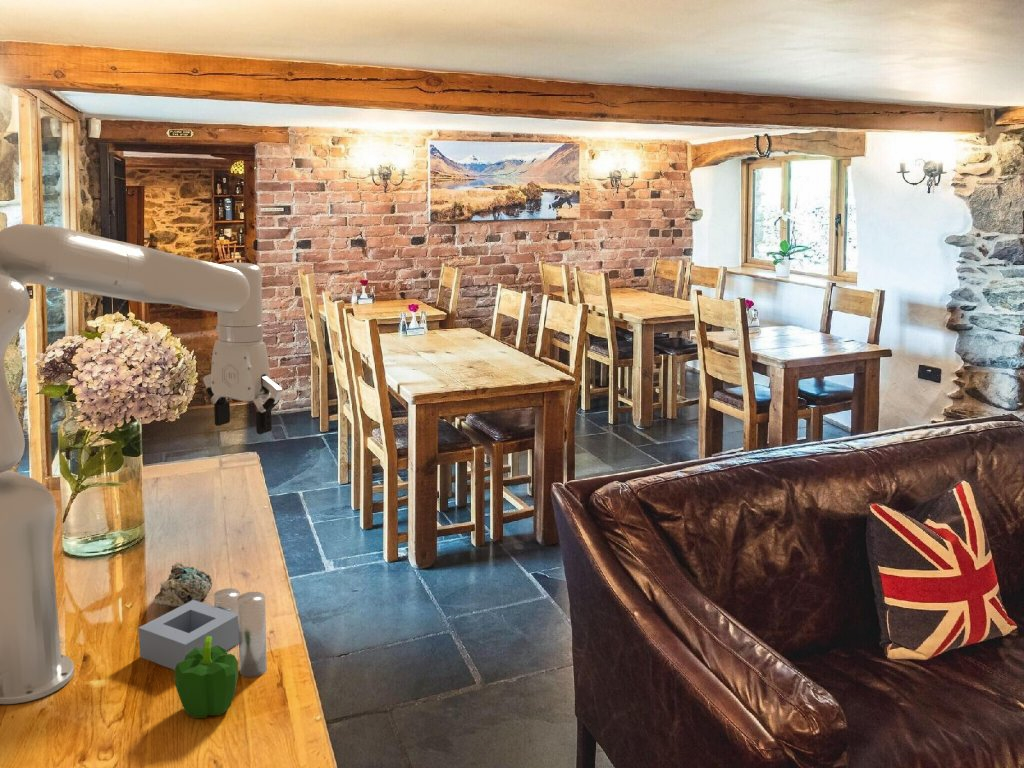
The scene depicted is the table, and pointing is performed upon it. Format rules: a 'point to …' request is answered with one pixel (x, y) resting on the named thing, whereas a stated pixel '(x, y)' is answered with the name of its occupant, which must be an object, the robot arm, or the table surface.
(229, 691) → the bell pepper
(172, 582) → the mineral specimen
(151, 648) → the hole block
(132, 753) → the table surface
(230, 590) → the short pin
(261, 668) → the long pin
